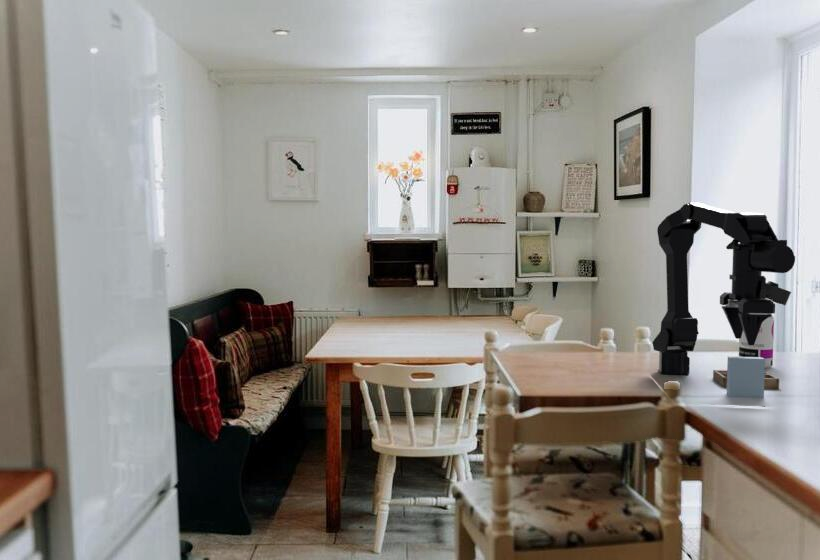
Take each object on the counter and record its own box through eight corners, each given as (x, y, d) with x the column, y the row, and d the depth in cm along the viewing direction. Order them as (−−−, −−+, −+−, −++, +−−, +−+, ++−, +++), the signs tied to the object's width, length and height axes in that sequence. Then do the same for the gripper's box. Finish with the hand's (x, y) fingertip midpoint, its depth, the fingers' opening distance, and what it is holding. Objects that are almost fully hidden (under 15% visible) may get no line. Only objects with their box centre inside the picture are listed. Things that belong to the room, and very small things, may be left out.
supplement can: (768, 365, 186) (769, 311, 185) (775, 371, 178) (777, 314, 177) (735, 363, 188) (737, 310, 187) (741, 369, 180) (743, 313, 179)
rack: (724, 390, 155) (725, 378, 155) (712, 380, 166) (712, 369, 166) (781, 392, 153) (781, 380, 153) (764, 382, 164) (765, 370, 164)
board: (729, 398, 148) (730, 358, 147) (726, 396, 150) (727, 356, 149) (763, 400, 147) (764, 358, 146) (760, 397, 149) (761, 357, 148)
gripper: (803, 273, 137) (801, 349, 138) (771, 268, 155) (769, 336, 156) (744, 273, 139) (742, 348, 140) (720, 268, 157) (718, 335, 158)
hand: (744, 341), depth 148 cm, fingers open, 9 cm apart
